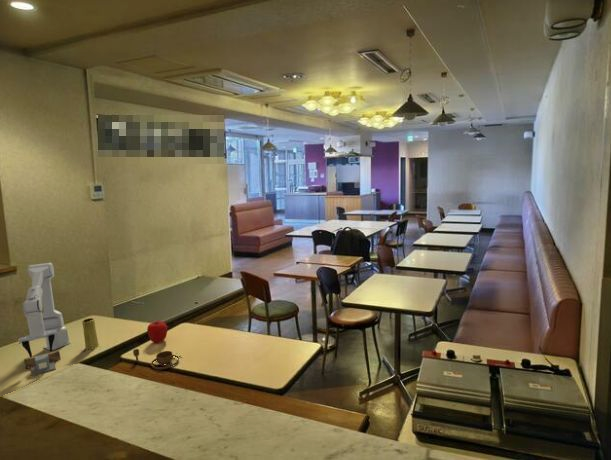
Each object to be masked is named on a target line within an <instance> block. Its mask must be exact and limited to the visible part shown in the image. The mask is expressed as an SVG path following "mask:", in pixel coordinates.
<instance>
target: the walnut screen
mask: <svg viewBox="0 0 611 460" xmlns="http://www.w3.org/2000/svg"><path fill="white" fill-rule="evenodd" d="M44 354H45V353H43V354H42V355H44ZM46 354H48V357H49V362H52V361H55V362H56V361H59V360H61V353H60V350H55V351H52V352H48V353H46ZM40 355H41V354H40ZM40 355H38V356H40ZM36 356H37V355H35V356H32V357H28V358H24V359H23V363H24V368H25V369H30V368H32V367H33V366H36V363H35V357H36Z"/></svg>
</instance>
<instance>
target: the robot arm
mask: <svg viewBox="0 0 611 460" xmlns="http://www.w3.org/2000/svg"><path fill="white" fill-rule="evenodd" d="M27 275H28V276H29V277H30V279H31V286H30V287H29V288H28V289H27V294H26V298H25V299H26V300H25V301H24V302H22V310H23V311H22V312H23V314H24V315H25V318H26V320H27V321H26V322H27V326H28V331H29V335H25V336H23V337H19V338H17V339H18V340H17V341H18V345H22V347H23V348H24V349H25V350H26V352H27V353H28V355H29V358H31V357H33V354H32V349H31V345H30V342H31V341H36V340H39V339H43V338H45V343H46V345H44V346H43V348H44V349H46V350H48V351H49V353H51V352H53V351H54V350H57V349H59V348H61V347H64V346H66V345H69V344H71V342H70V338H69V333H68V329H67V328H66V326H65V325H64V324H65V322H64V317H63V313H62V312H61V311H59V310H57V309H55V308H56V307H55V301H54V294H53V289H52V288H53V287H52V279H53V278H55V268H54V264H53V263H52V262H45V263H38V264H30V265H28V267H27ZM42 311H43V312H42Z"/></svg>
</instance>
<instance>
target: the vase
mask: <svg viewBox="0 0 611 460" xmlns="http://www.w3.org/2000/svg"><path fill="white" fill-rule="evenodd" d="M81 323H82V330H83V336H84V347H85V349H86V350H93V348H94V349H96V348H98V347H99V346H100V345H99V340H98V335H97V329H96V323H95V319H94V317H93V318H92V317H90V318H84V319H83V320H82V322H81ZM97 346H98V347H97ZM95 347H96V348H95Z"/></svg>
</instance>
